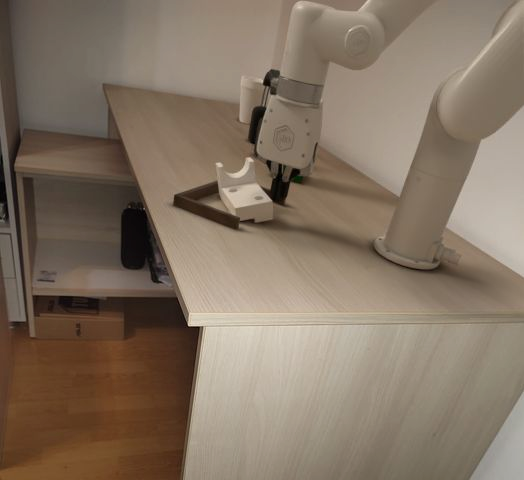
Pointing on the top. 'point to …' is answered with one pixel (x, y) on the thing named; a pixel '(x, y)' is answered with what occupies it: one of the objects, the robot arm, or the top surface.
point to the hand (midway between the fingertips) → (277, 199)
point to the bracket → (244, 193)
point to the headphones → (261, 109)
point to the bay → (188, 203)
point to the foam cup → (250, 96)
